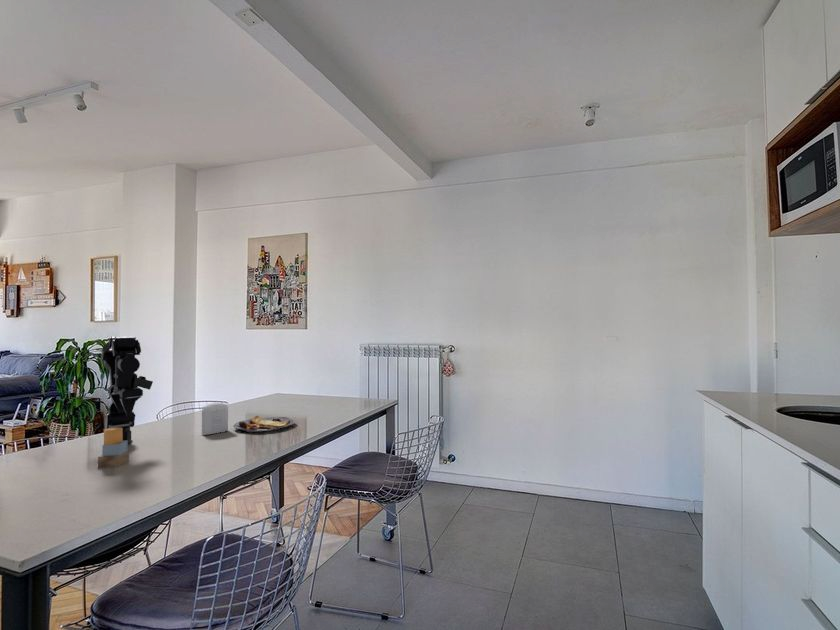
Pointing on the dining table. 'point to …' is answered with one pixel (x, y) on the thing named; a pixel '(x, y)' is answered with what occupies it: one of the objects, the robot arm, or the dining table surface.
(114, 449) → the slate top block
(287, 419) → the food plate
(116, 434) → the orange cylinder
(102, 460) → the walnut base block
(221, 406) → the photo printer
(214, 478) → the dining table surface
